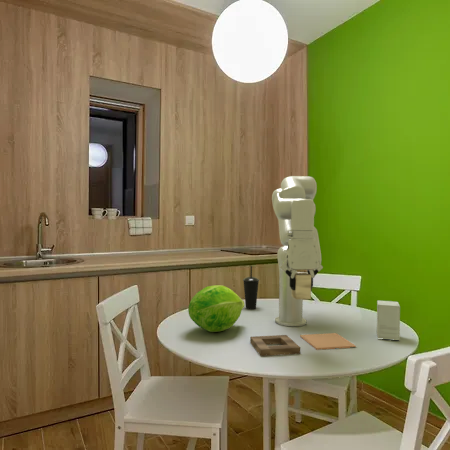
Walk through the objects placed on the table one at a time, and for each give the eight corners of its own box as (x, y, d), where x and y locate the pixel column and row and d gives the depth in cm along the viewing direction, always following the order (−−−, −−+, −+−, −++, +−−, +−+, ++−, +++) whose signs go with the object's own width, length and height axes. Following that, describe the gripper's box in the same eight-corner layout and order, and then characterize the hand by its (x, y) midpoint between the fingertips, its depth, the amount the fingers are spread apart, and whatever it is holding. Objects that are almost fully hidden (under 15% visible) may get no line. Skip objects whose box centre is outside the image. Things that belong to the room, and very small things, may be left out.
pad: (300, 336, 140) (300, 334, 140) (336, 334, 142) (336, 333, 142) (316, 349, 126) (316, 348, 126) (355, 347, 128) (355, 345, 128)
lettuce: (259, 330, 146) (260, 285, 146) (204, 343, 131) (205, 293, 131) (229, 319, 161) (229, 279, 161) (176, 330, 146) (177, 285, 145)
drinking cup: (240, 306, 184) (240, 265, 184) (255, 305, 186) (255, 264, 186) (245, 310, 177) (246, 267, 176) (261, 309, 179) (261, 266, 179)
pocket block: (250, 342, 133) (250, 336, 132) (286, 340, 135) (286, 334, 135) (260, 356, 120) (260, 349, 120) (300, 353, 122) (300, 347, 122)
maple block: (291, 295, 133) (291, 272, 132) (305, 295, 133) (305, 272, 133) (296, 299, 128) (296, 275, 127) (310, 299, 128) (311, 275, 128)
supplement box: (397, 335, 142) (398, 301, 141) (399, 341, 135) (400, 305, 134) (376, 333, 144) (377, 299, 144) (376, 339, 137) (377, 304, 137)
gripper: (280, 236, 125) (279, 292, 126) (330, 236, 127) (329, 291, 128) (274, 234, 132) (273, 287, 133) (321, 234, 135) (320, 286, 135)
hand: (301, 288), depth 130 cm, fingers closed on maple block, 5 cm apart
